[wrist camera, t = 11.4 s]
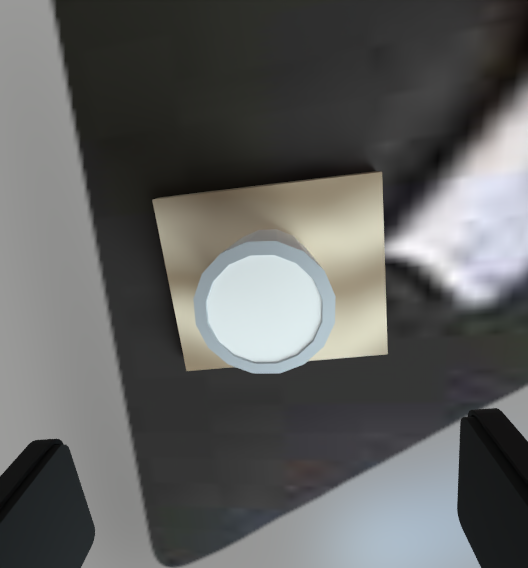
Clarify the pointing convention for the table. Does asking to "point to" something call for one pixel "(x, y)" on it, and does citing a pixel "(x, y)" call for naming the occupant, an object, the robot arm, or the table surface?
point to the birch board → (306, 229)
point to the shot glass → (265, 303)
